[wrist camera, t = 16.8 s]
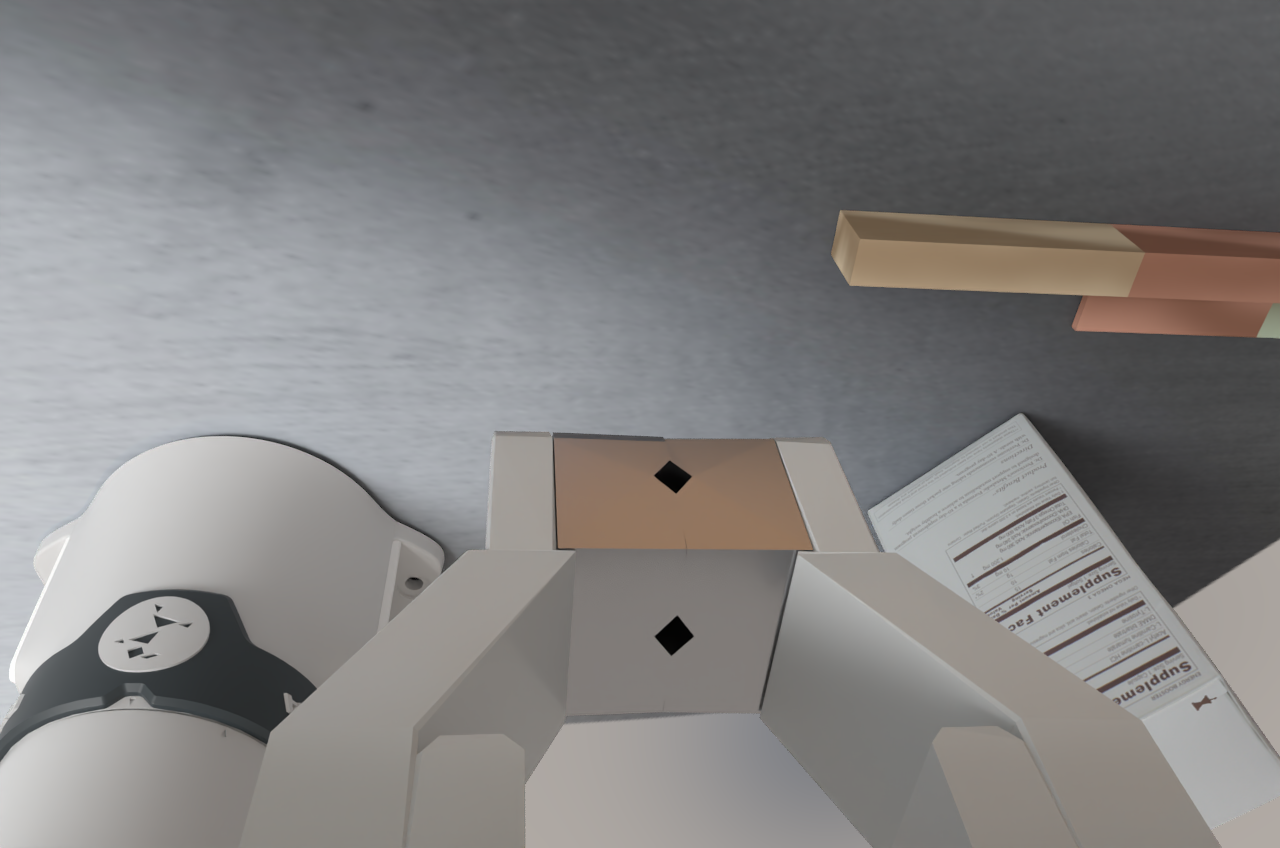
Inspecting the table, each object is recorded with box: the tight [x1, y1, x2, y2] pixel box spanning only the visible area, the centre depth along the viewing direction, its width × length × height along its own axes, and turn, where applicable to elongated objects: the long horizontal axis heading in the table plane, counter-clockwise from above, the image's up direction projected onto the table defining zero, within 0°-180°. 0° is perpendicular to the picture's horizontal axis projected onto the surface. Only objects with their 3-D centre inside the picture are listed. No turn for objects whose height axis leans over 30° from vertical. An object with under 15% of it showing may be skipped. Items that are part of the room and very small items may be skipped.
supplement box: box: [868, 413, 1280, 830], centre depth 45 cm, size 10×9×17 cm
